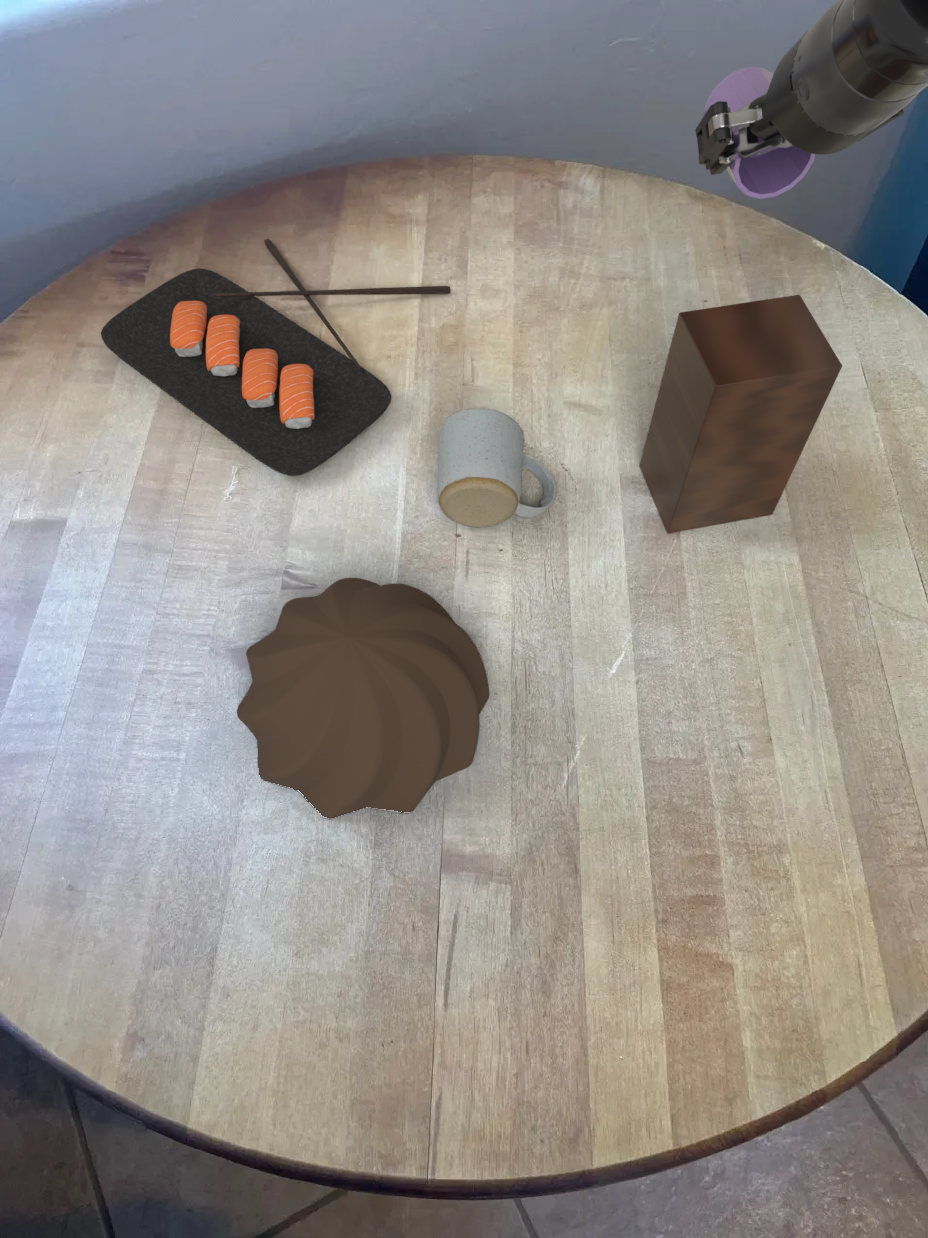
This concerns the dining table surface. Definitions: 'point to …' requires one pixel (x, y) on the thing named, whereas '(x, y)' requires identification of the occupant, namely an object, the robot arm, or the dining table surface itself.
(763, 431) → the block
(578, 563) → the dining table surface
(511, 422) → the ceramic mug
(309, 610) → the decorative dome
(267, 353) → the sushi plate
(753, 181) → the tumbler
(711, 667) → the dining table surface
